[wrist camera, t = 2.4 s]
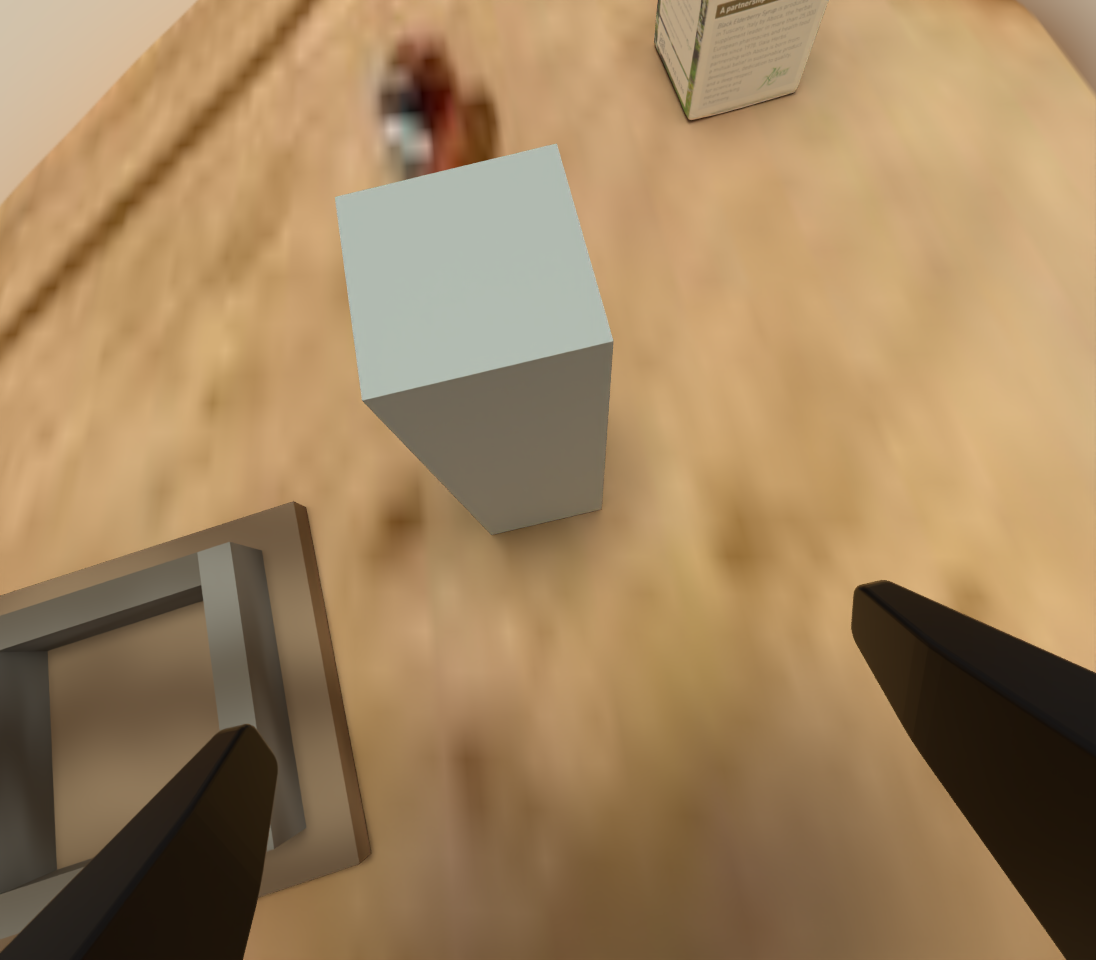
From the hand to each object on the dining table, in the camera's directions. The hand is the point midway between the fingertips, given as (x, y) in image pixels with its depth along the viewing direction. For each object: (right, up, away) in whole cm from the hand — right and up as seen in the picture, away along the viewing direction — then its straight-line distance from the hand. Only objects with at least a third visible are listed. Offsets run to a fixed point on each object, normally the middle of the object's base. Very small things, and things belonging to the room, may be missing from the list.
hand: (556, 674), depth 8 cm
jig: (-14, -6, +13) cm, 20 cm away
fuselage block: (-1, +3, +15) cm, 15 cm away
